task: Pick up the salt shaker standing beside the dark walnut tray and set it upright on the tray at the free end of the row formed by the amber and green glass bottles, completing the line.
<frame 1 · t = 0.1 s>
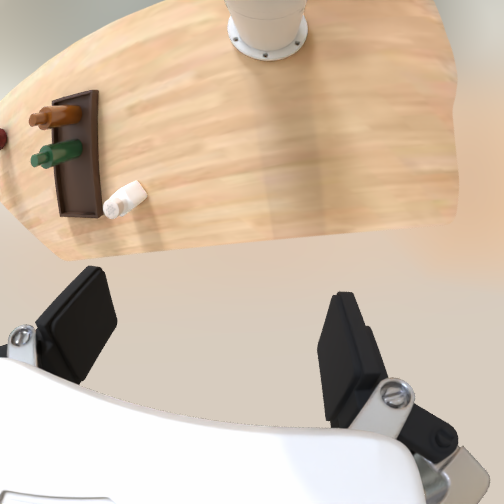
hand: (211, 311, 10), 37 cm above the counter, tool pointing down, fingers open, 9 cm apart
green bottle: (75, 148, 42), point 1 cm above the counter, touching tray
amber bottle: (74, 114, 39), point 1 cm above the counter, touching tray
tray: (77, 155, 43), on the counter
cocoa: (5, 137, 41), on the counter
salt shaker: (137, 192, 47), on the counter
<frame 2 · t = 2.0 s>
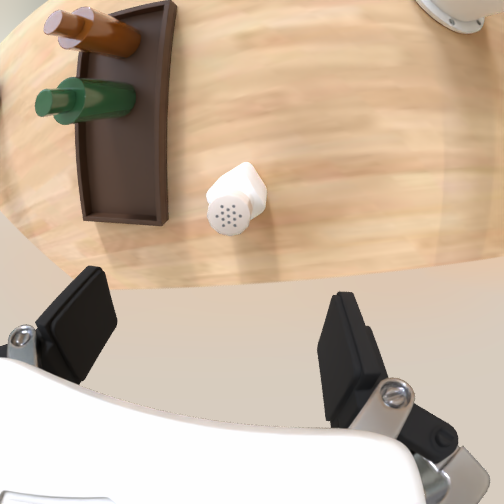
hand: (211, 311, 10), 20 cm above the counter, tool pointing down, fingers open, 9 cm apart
green bottle: (120, 99, 23), point 1 cm above the counter, touching tray
amber bottle: (124, 43, 20), point 1 cm above the counter, touching tray
tray: (122, 112, 25), on the counter
salt shaker: (243, 184, 28), on the counter
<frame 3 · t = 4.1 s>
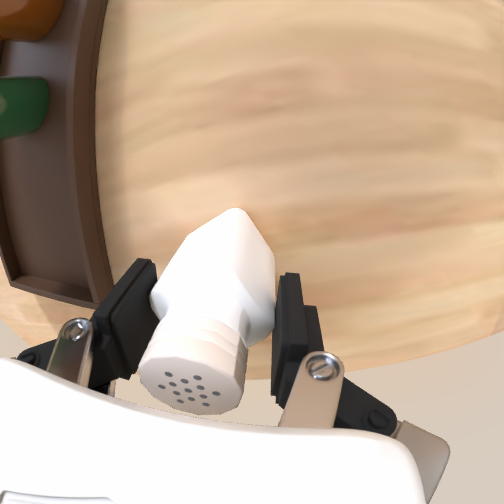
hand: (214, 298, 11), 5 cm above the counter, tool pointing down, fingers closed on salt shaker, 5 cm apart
green bottle: (30, 104, 11), point 1 cm above the counter, touching tray
amber bottle: (42, 16, 8), point 1 cm above the counter, touching tray
tray: (36, 124, 12), on the counter
salt shaker: (231, 245, 16), on the counter, touching gripper
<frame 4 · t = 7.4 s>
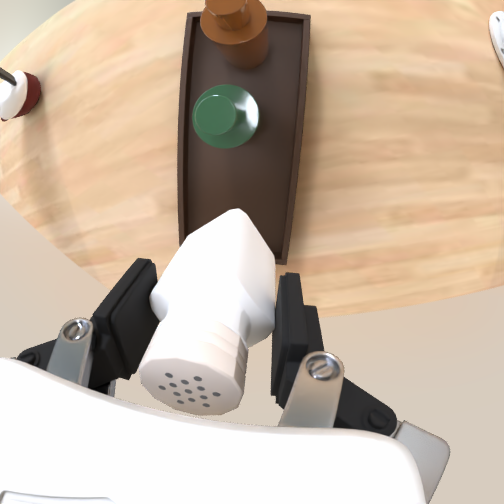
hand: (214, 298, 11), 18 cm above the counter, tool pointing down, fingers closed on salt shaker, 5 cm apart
green bottle: (241, 118, 23), point 1 cm above the counter, touching tray
amber bottle: (246, 50, 20), point 1 cm above the counter, touching tray
tray: (240, 133, 24), on the counter
cocoa: (35, 92, 22), on the counter
salt shaker: (231, 246, 16), point 13 cm above the counter, touching gripper
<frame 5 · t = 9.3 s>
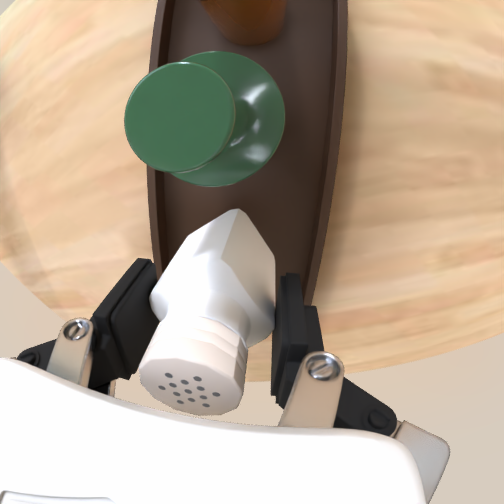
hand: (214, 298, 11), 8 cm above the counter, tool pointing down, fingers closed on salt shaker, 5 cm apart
green bottle: (242, 120, 15), point 1 cm above the counter, touching tray
amber bottle: (250, 18, 12), point 1 cm above the counter, touching tray
tray: (242, 143, 16), on the counter
salt shaker: (231, 246, 16), point 3 cm above the counter, touching gripper
when the fingers open (5 cm above the counter, at t = 10.5 s): salt shaker stays where it is, resting on tray.
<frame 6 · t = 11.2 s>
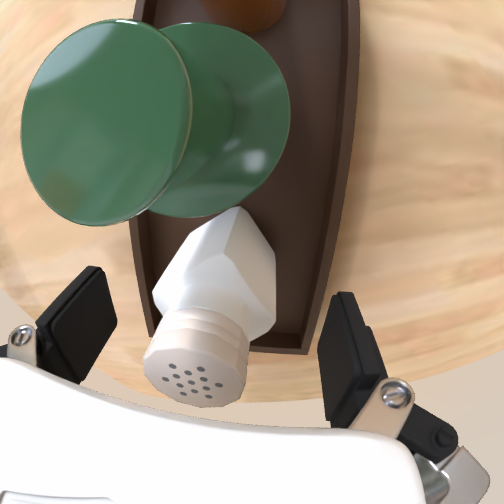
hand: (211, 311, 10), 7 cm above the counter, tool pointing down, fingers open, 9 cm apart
green bottle: (236, 120, 13), point 1 cm above the counter, touching tray
amber bottle: (245, 3, 9), point 1 cm above the counter, touching tray
tray: (236, 147, 14), on the counter
salt shaker: (232, 243, 16), resting on tray
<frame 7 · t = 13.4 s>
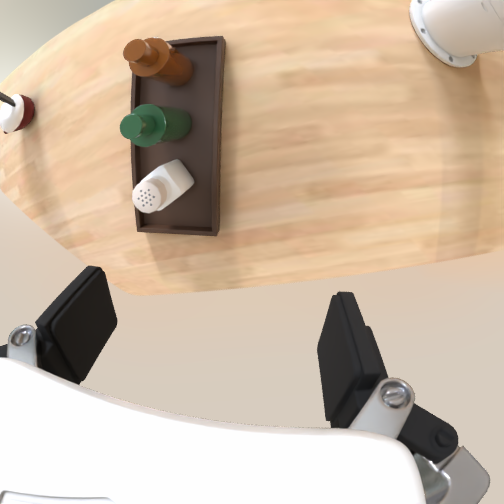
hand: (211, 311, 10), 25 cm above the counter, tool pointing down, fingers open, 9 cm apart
green bottle: (175, 124, 30), point 1 cm above the counter, touching tray
amber bottle: (177, 71, 27), point 1 cm above the counter, touching tray
tray: (177, 135, 31), on the counter
cocoa: (30, 110, 28), on the counter
salt shaker: (176, 177, 33), resting on tray
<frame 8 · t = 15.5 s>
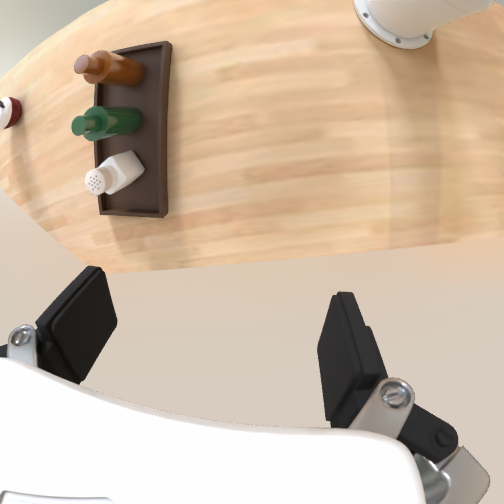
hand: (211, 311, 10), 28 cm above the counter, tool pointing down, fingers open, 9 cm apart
green bottle: (129, 120, 32), point 1 cm above the counter, touching tray
amber bottle: (132, 74, 29), point 1 cm above the counter, touching tray
tray: (131, 130, 33), on the counter
cocoa: (18, 110, 31), on the counter
salt shaker: (131, 166, 36), resting on tray
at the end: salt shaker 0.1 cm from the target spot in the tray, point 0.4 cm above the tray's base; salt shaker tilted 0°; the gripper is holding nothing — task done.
